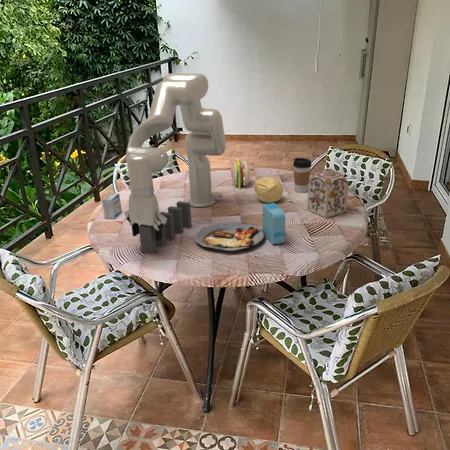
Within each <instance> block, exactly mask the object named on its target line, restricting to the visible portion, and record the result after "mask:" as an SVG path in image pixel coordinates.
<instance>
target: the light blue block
mask: <svg viewBox="0 0 450 450" xmlns="http://www.w3.org/2000/svg"><path fill="white" fill-rule="evenodd" d="M262 230H263V232H264V234H265V238H266V239H267V240H268V241H269V242H270V244H271V245H279V244H284V243H285V241H286V214H285V211H284V210H282V209H281V208H280V207H279V206H278V204H276V203H275V202H273V203H263V204H262Z"/></svg>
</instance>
